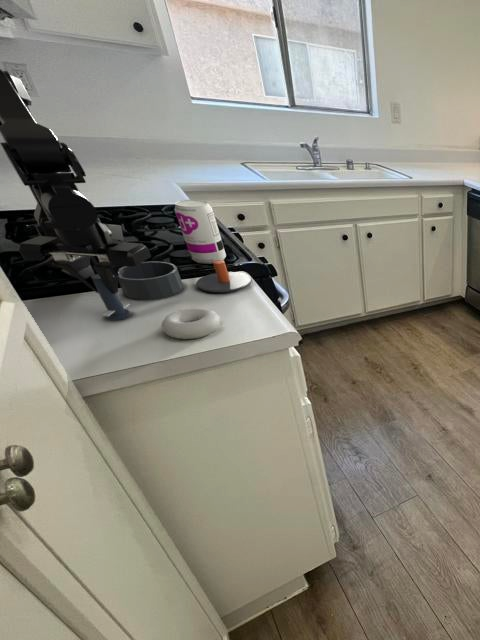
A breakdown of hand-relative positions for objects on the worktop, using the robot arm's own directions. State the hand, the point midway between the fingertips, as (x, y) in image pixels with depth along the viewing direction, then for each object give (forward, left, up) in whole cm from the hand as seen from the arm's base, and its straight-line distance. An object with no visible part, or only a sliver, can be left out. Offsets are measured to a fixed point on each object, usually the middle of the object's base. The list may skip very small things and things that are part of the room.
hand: (107, 292), depth 85 cm
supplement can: (-18, +30, -6) cm, 35 cm away
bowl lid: (0, +23, -5) cm, 23 cm away
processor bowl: (-8, +11, -6) cm, 15 cm away
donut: (+16, +6, -6) cm, 18 cm away
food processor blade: (0, 0, -6) cm, 6 cm away
